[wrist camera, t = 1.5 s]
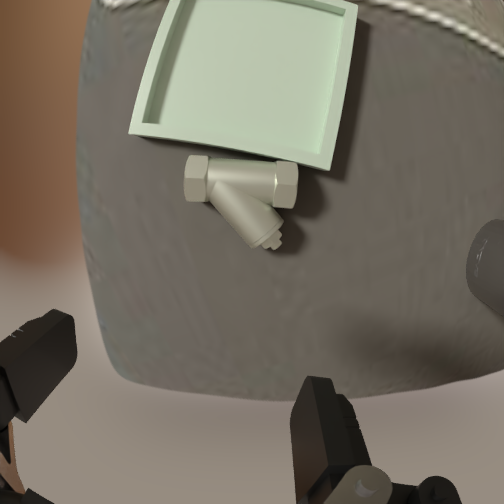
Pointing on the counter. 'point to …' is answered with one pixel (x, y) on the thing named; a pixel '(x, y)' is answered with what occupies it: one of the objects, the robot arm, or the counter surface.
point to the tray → (249, 77)
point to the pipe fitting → (244, 193)
